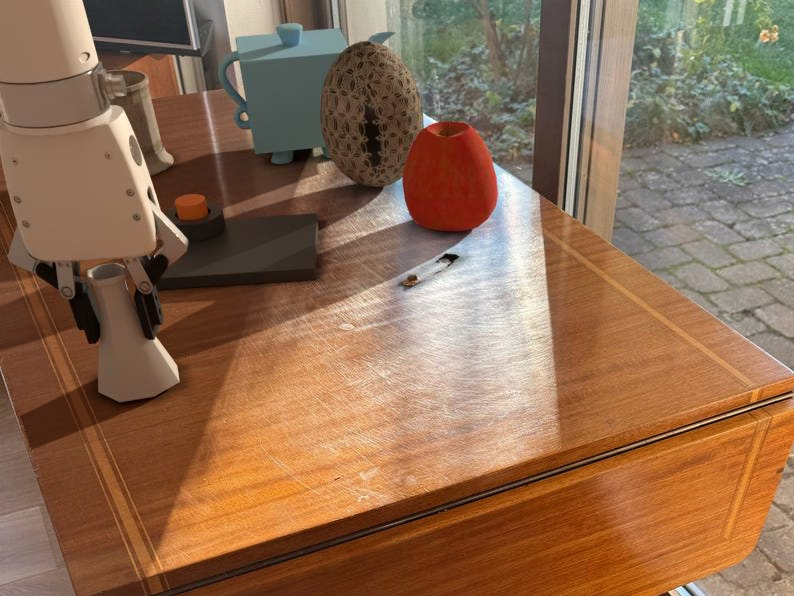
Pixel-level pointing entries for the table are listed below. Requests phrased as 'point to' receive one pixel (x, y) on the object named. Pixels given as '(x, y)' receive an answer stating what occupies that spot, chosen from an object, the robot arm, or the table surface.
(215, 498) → the table surface
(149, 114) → the mug
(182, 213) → the button
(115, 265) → the flask
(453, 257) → the fossil
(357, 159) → the decorative egg
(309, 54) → the teapot
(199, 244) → the scale
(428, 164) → the apple
